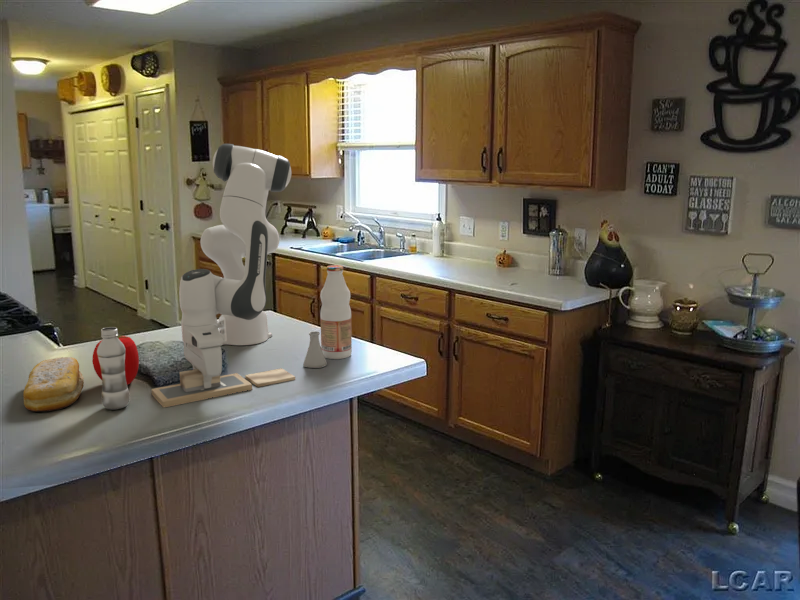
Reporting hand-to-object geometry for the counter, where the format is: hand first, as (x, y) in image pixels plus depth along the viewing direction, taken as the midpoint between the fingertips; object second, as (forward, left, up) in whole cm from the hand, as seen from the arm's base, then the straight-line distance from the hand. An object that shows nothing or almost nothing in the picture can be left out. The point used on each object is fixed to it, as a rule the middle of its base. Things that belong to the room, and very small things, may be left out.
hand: (203, 383), depth 173 cm
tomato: (-18, -17, -2) cm, 25 cm away
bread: (-19, -32, -3) cm, 38 cm away
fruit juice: (-9, +45, -2) cm, 45 cm away
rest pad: (0, +19, -2) cm, 19 cm away
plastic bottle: (-1, -21, -2) cm, 22 cm away
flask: (-4, +35, -2) cm, 35 cm away
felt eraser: (0, -1, -1) cm, 1 cm away
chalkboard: (0, 0, -2) cm, 2 cm away
